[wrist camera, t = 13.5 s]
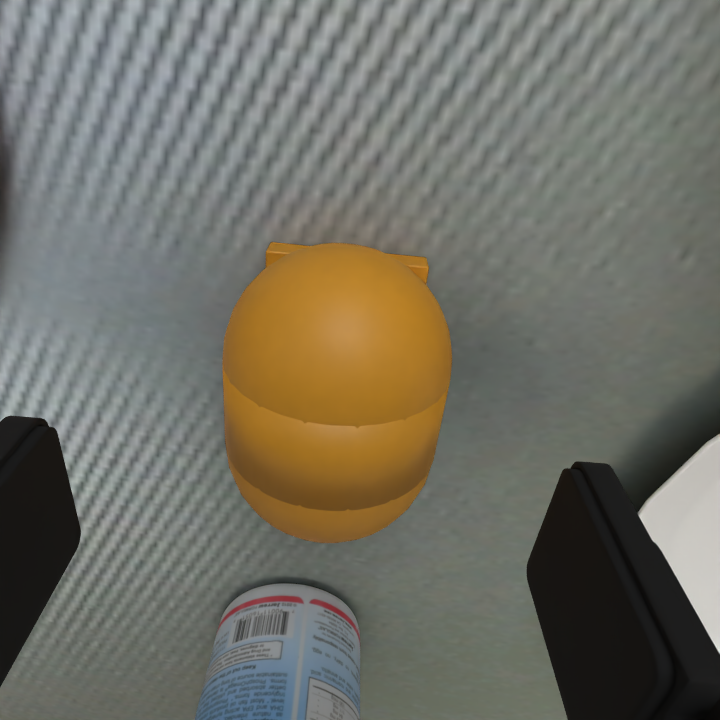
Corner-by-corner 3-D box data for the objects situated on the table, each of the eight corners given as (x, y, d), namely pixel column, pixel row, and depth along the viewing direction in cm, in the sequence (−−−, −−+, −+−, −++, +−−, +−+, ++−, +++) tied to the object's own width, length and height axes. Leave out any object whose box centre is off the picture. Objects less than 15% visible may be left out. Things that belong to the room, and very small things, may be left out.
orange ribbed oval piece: (248, 203, 15) (185, 285, 10) (454, 223, 15) (495, 315, 10) (249, 438, 19) (204, 582, 14) (412, 452, 19) (427, 599, 14)
